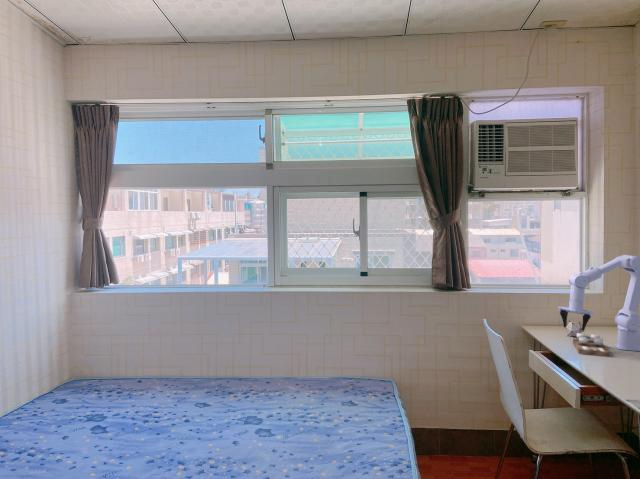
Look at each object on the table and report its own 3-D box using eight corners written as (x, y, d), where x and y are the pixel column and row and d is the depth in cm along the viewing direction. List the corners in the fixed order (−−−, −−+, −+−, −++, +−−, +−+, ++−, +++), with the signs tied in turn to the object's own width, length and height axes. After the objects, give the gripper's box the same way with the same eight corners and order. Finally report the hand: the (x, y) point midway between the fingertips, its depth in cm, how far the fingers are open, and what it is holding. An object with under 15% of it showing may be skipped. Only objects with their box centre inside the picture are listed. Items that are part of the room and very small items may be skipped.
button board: (601, 345, 212) (601, 340, 212) (609, 356, 195) (610, 351, 195) (572, 342, 217) (572, 337, 217) (578, 353, 199) (578, 348, 199)
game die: (574, 344, 226) (571, 331, 221) (562, 334, 233) (558, 322, 229) (589, 335, 226) (586, 322, 221) (576, 326, 234) (573, 313, 229)
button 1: (587, 340, 207) (587, 337, 207) (588, 343, 204) (588, 339, 204) (578, 340, 209) (578, 336, 209) (579, 342, 205) (579, 338, 205)
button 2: (598, 338, 211) (598, 334, 211) (600, 340, 208) (600, 336, 208) (590, 337, 213) (590, 334, 213) (591, 339, 210) (591, 335, 209)
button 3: (601, 342, 205) (601, 338, 205) (603, 344, 202) (603, 340, 202) (592, 341, 206) (593, 337, 206) (594, 343, 203) (594, 339, 203)
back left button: (584, 337, 214) (584, 333, 214) (585, 339, 210) (585, 335, 210) (576, 336, 215) (576, 332, 215) (577, 338, 212) (577, 334, 212)
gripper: (557, 298, 209) (554, 326, 210) (592, 303, 199) (589, 333, 200) (561, 296, 214) (558, 324, 215) (595, 302, 204) (593, 330, 205)
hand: (574, 328), depth 208 cm, fingers open, 7 cm apart
